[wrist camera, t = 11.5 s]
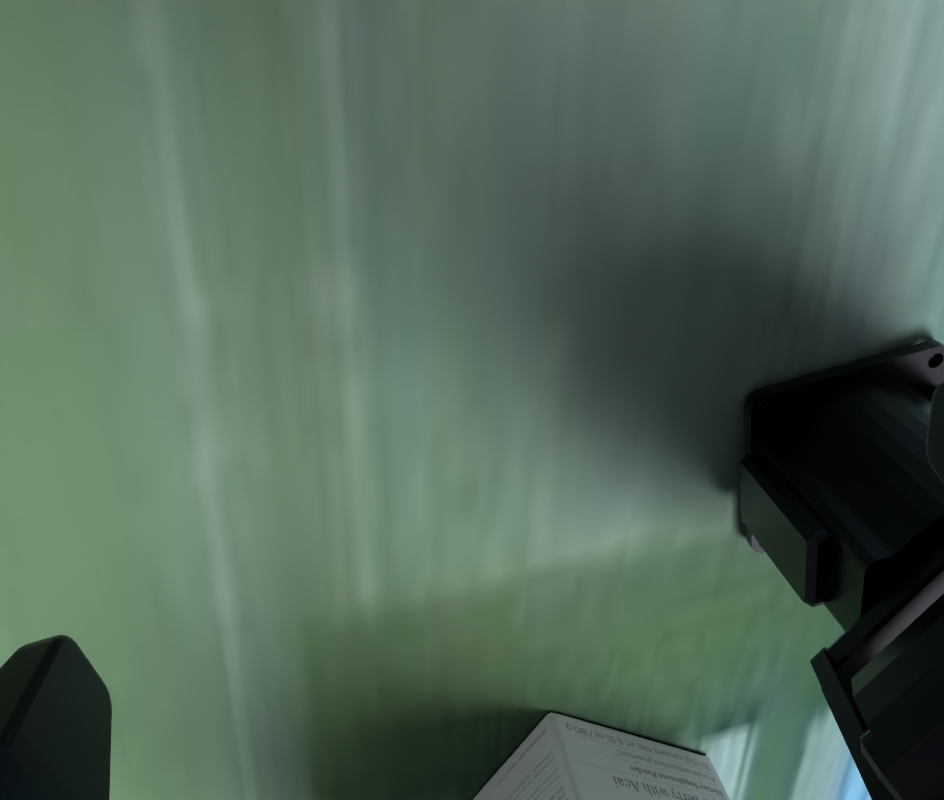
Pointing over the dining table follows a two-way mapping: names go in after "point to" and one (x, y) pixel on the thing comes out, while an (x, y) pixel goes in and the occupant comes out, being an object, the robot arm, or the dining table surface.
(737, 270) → the dining table surface
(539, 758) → the supplement box
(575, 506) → the dining table surface
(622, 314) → the dining table surface
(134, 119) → the dining table surface
